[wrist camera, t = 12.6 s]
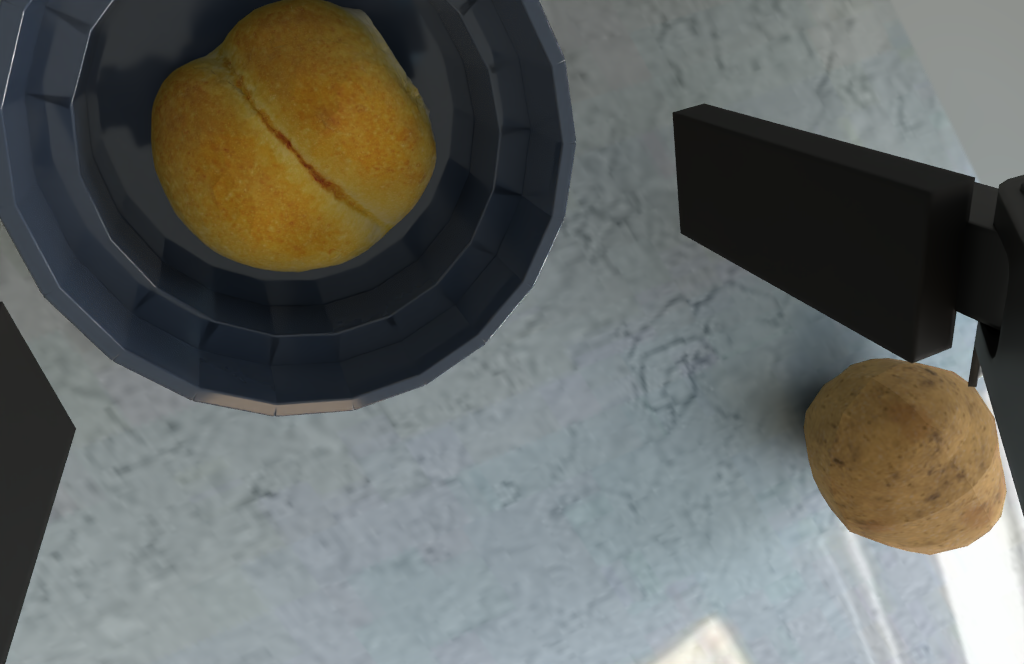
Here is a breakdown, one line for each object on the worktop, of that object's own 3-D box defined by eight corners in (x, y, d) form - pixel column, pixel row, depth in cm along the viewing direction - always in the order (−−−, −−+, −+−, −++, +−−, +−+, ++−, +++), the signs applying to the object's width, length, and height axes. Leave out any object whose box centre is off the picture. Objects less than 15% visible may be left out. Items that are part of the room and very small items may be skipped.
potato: (859, 278, 39) (996, 342, 32) (940, 414, 47) (1064, 488, 40) (727, 408, 40) (835, 497, 33) (828, 522, 47) (933, 613, 41)
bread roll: (99, 128, 24) (81, 154, 20) (320, -46, 24) (339, -49, 20) (278, 305, 28) (288, 350, 25) (463, 157, 28) (498, 183, 25)
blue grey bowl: (461, -173, 24) (530, -211, 19) (537, 268, 32) (600, 324, 27) (-81, -80, 20) (-174, -96, 15) (155, 392, 28) (145, 484, 23)
